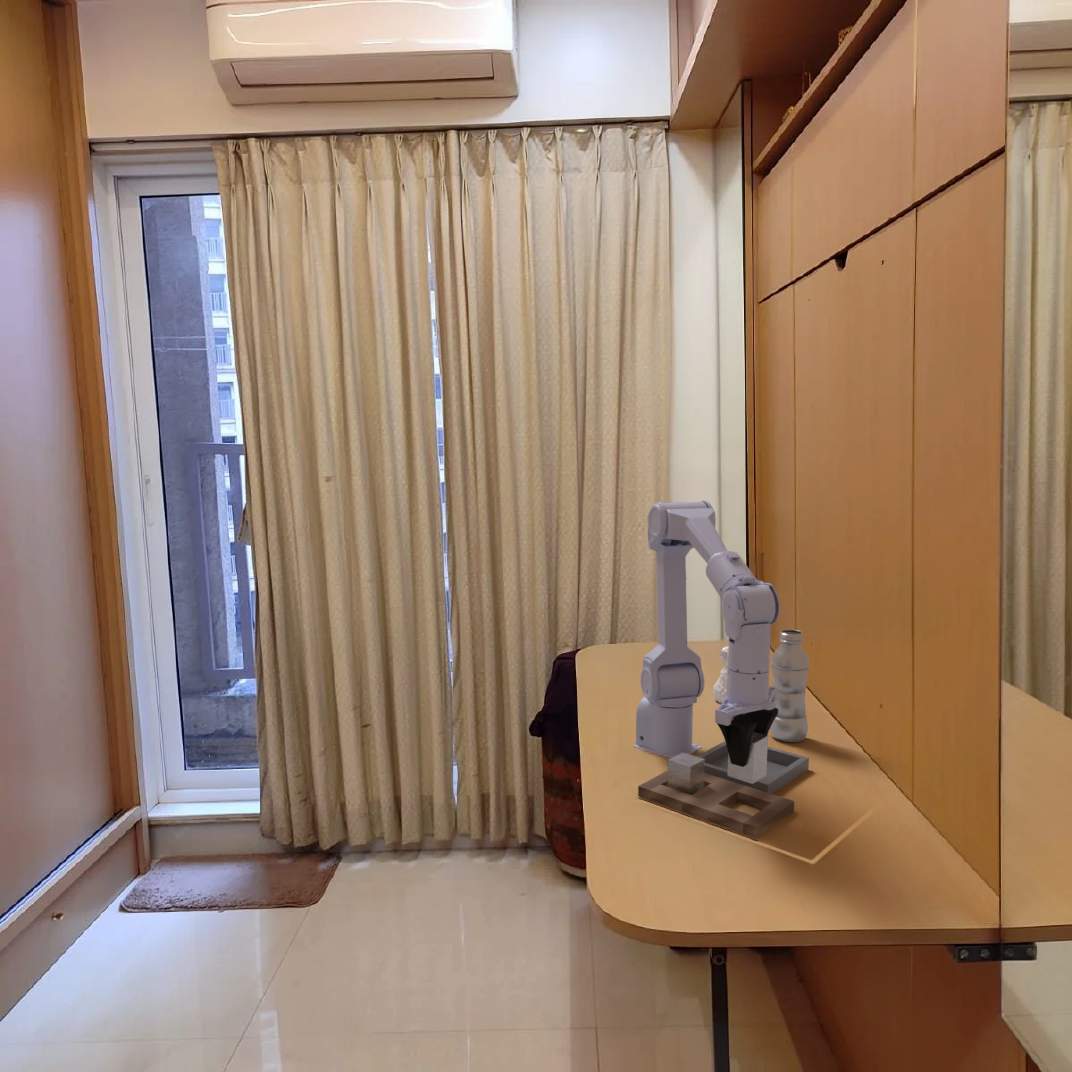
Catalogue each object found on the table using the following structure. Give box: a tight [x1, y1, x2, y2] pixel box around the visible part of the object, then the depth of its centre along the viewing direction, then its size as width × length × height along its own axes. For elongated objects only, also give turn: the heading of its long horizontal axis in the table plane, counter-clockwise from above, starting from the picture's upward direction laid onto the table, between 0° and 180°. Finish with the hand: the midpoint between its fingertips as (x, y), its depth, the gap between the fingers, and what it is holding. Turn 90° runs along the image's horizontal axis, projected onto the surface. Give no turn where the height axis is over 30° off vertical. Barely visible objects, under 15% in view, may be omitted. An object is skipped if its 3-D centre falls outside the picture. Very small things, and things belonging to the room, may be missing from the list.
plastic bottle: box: [769, 629, 810, 743], centre depth 152 cm, size 6×7×20 cm
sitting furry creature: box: [712, 645, 729, 704], centre depth 173 cm, size 10×9×12 cm
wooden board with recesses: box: [637, 769, 795, 842], centre depth 127 cm, size 20×11×2 cm, turn 47°
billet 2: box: [728, 732, 769, 784], centre depth 122 cm, size 4×4×6 cm
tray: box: [695, 740, 810, 795], centre depth 138 cm, size 14×14×2 cm
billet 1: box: [667, 752, 705, 795], centre depth 130 cm, size 4×4×6 cm
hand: (746, 759), depth 122 cm, fingers closed on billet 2, 4 cm apart
